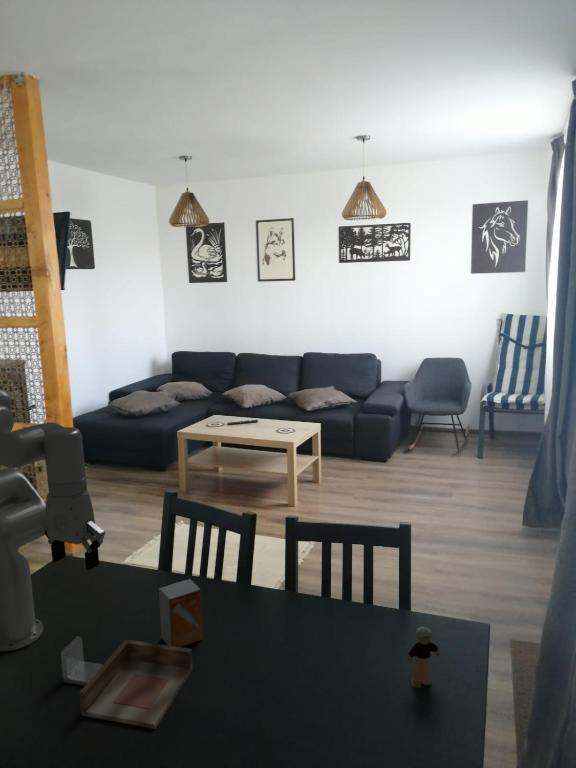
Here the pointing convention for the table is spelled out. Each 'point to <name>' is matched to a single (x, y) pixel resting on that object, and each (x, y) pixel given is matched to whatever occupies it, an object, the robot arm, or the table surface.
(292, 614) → the table surface
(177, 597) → the small box
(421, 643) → the grandmother figurine
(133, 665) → the wooden tray
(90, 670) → the bracket
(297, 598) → the table surface
